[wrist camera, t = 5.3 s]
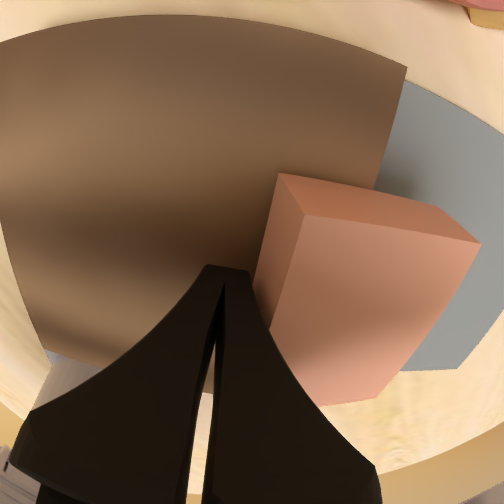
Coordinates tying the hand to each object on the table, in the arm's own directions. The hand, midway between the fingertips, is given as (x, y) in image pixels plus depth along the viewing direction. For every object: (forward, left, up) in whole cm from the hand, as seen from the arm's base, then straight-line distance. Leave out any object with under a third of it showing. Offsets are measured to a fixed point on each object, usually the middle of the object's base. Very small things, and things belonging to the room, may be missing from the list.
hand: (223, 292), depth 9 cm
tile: (0, -4, -1) cm, 4 cm away
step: (0, +3, -4) cm, 5 cm away
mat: (0, -12, -4) cm, 12 cm away
